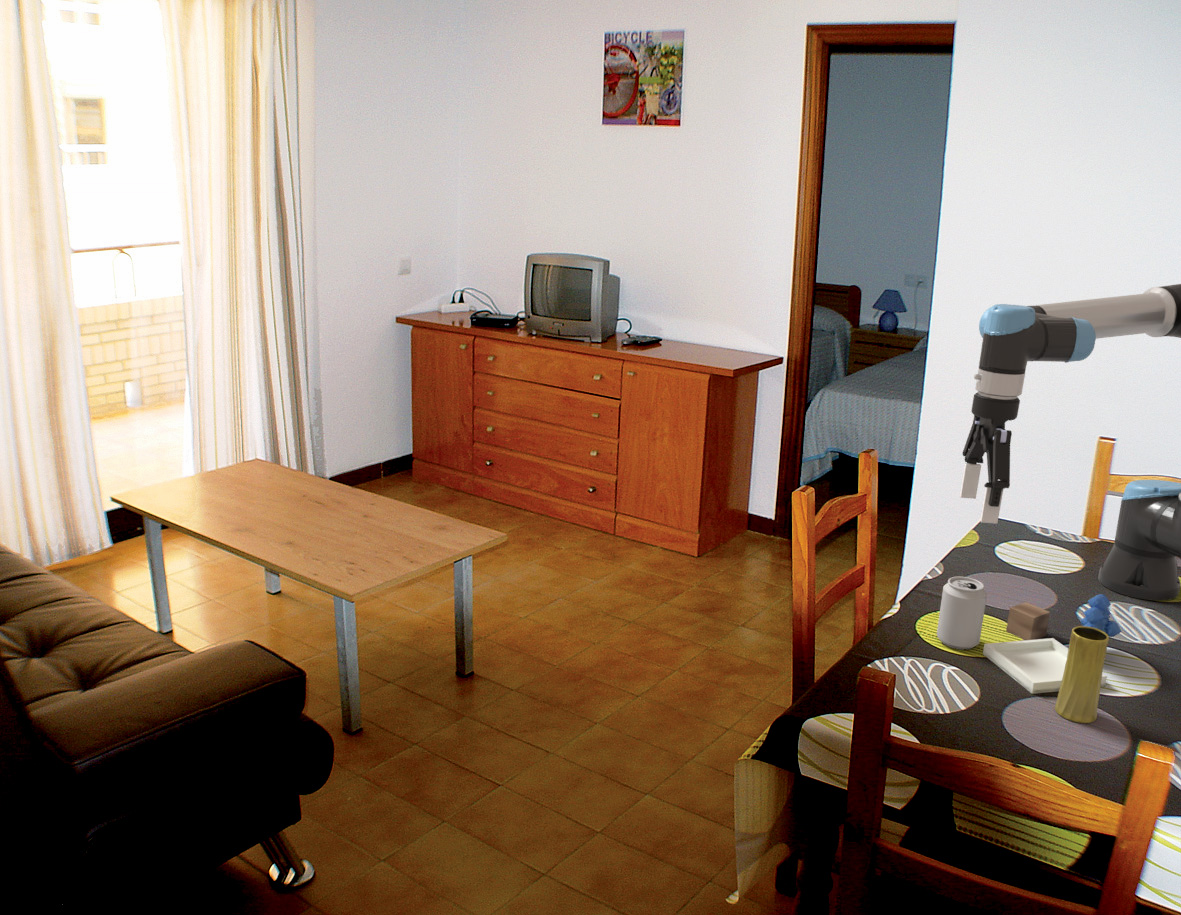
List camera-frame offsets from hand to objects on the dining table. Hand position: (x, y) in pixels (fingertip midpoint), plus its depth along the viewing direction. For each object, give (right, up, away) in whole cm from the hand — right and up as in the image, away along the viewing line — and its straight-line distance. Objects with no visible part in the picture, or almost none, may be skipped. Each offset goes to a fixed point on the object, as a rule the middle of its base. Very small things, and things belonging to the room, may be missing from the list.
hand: (977, 509), depth 175 cm
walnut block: (+12, -24, +8) cm, 28 cm away
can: (-2, -25, +4) cm, 25 cm away
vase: (+8, -32, -19) cm, 38 cm away
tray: (+9, -28, -5) cm, 30 cm away
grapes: (+21, -27, 0) cm, 34 cm away
